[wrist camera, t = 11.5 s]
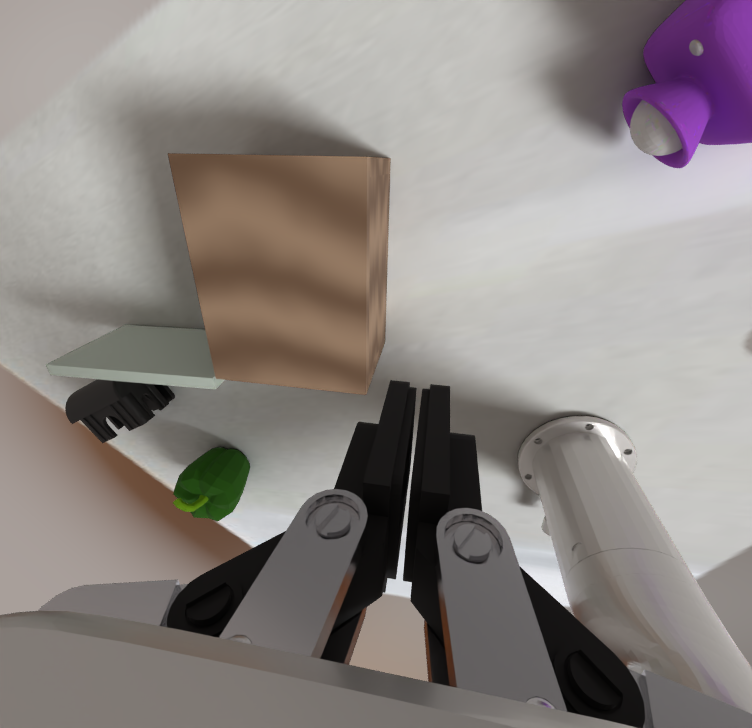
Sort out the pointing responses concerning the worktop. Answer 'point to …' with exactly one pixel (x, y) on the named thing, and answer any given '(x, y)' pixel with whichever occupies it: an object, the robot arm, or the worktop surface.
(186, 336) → the door
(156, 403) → the end cap
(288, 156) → the cabinet
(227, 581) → the robot arm
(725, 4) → the toy camera
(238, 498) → the bell pepper
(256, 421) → the worktop surface
